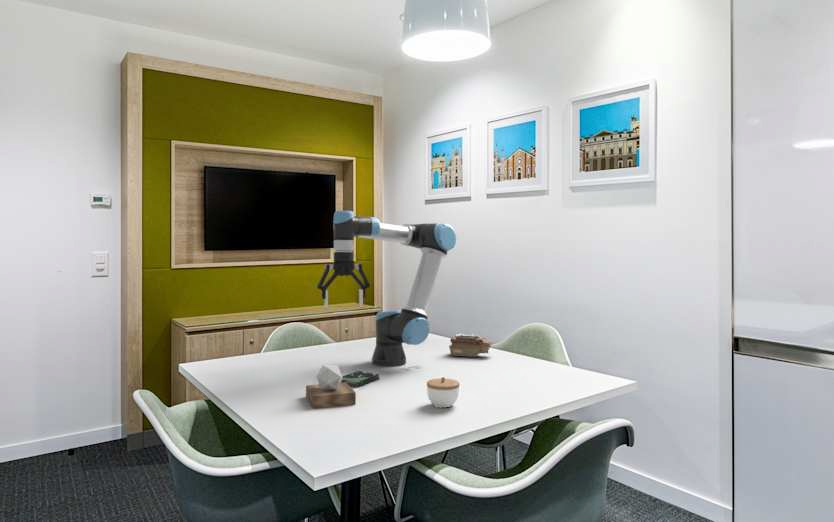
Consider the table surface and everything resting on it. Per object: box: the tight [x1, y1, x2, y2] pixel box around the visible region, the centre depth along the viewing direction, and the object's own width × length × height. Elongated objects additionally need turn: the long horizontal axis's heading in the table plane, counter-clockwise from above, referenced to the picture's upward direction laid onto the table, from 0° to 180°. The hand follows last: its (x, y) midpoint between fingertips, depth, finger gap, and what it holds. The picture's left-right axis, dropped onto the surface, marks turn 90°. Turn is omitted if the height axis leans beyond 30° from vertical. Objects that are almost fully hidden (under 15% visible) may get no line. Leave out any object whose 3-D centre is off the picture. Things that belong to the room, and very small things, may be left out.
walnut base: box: [305, 382, 357, 409], centre depth 189 cm, size 14×14×4 cm
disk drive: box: [341, 370, 380, 389], centre depth 215 cm, size 10×3×15 cm
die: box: [316, 364, 343, 390], centre depth 189 cm, size 8×9×10 cm
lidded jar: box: [426, 376, 460, 408], centre depth 185 cm, size 11×11×9 cm
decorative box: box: [448, 333, 494, 357], centre depth 265 cm, size 13×20×10 cm, turn 66°
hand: (343, 307), depth 215 cm, fingers open, 13 cm apart
